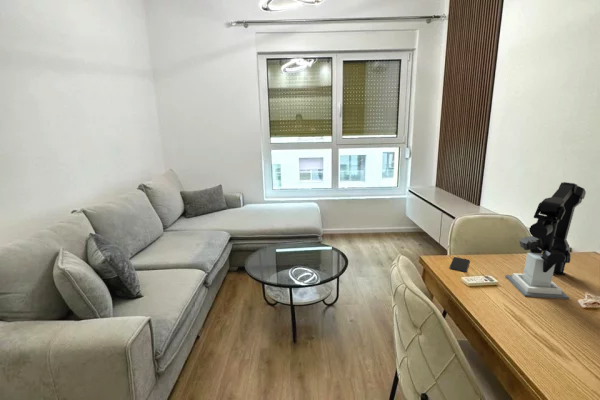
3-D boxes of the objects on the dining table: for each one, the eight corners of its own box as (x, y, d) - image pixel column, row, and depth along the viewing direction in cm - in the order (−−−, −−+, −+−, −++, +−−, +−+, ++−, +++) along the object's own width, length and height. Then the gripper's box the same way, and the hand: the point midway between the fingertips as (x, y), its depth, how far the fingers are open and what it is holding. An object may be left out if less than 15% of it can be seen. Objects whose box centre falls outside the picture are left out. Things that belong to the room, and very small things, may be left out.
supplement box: (550, 289, 128) (556, 261, 124) (530, 287, 129) (535, 259, 126) (541, 280, 135) (546, 253, 131) (521, 279, 136) (526, 251, 133)
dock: (544, 278, 139) (545, 273, 138) (569, 299, 123) (570, 292, 123) (505, 276, 141) (506, 270, 140) (524, 296, 126) (525, 289, 125)
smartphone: (453, 257, 161) (448, 269, 149) (453, 256, 161) (448, 267, 149) (470, 261, 157) (466, 273, 145) (470, 259, 157) (466, 271, 145)
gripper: (512, 223, 136) (506, 256, 140) (537, 240, 118) (530, 277, 122) (541, 224, 134) (534, 258, 138) (570, 241, 116) (562, 279, 120)
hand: (539, 267), depth 130 cm, fingers closed on supplement box, 7 cm apart
